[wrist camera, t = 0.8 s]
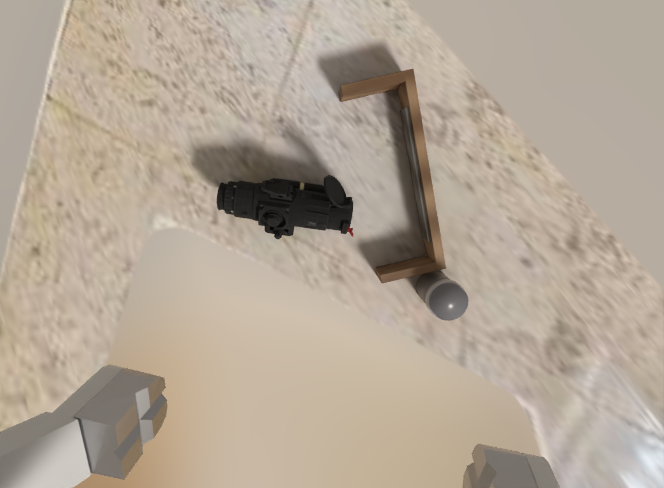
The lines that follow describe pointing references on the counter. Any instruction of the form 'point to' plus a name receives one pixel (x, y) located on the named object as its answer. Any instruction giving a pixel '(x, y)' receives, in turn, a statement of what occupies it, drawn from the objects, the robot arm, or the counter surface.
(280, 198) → the night vision scope
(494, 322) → the counter surface
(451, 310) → the gray domed cylinder
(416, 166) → the bracket
